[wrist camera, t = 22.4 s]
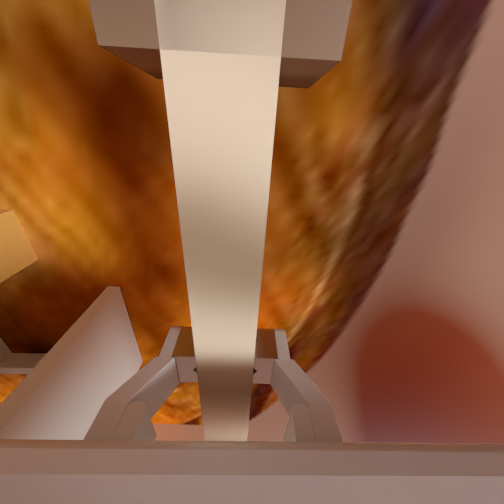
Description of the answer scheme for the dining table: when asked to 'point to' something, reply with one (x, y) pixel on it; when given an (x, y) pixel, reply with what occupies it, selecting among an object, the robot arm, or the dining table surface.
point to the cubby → (71, 374)
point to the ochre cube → (13, 246)
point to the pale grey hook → (224, 154)
